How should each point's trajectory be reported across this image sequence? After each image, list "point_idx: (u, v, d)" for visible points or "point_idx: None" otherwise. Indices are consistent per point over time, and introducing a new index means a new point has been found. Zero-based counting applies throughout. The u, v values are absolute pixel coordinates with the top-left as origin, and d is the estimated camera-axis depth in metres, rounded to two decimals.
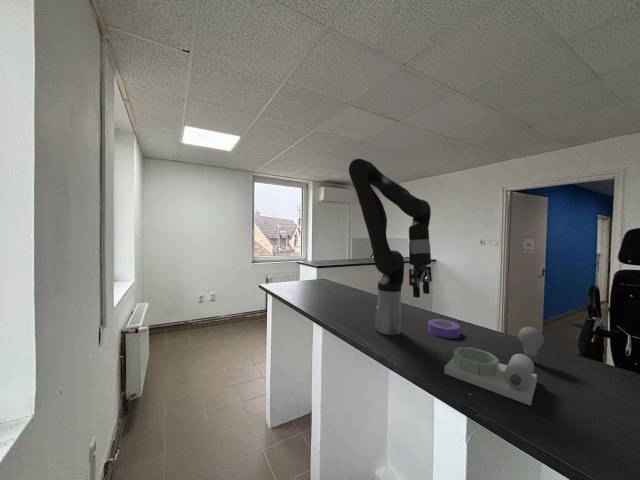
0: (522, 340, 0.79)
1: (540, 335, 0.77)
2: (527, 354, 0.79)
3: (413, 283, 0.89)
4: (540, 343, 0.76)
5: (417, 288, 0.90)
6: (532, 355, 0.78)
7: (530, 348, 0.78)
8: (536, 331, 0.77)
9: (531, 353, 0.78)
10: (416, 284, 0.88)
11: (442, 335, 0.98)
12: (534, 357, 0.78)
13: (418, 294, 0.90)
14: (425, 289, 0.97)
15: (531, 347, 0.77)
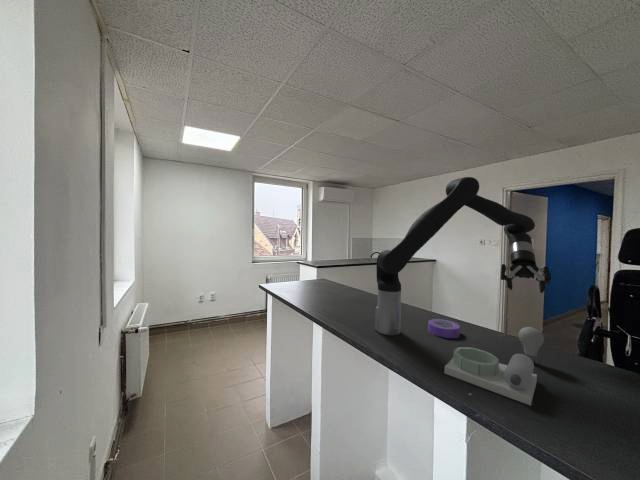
0: (522, 340, 0.79)
1: (540, 335, 0.77)
2: (527, 354, 0.79)
3: None
4: (540, 343, 0.76)
5: None
6: (532, 355, 0.78)
7: (530, 348, 0.78)
8: (536, 331, 0.77)
9: (531, 353, 0.78)
10: None
11: (442, 335, 0.98)
12: (534, 357, 0.78)
13: None
14: (511, 284, 0.92)
15: (531, 347, 0.77)
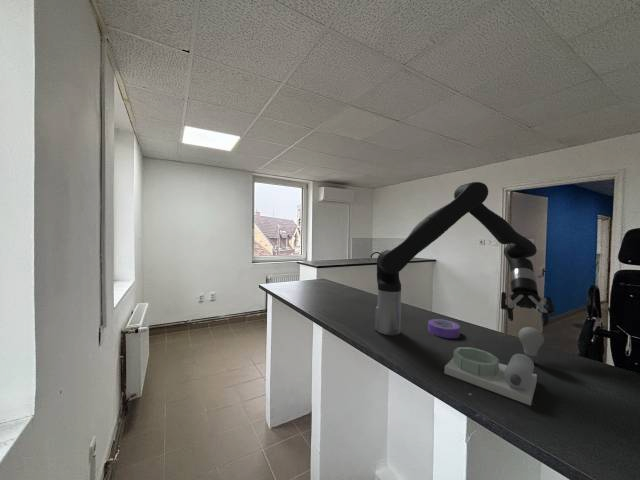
0: (522, 340, 0.79)
1: (540, 335, 0.77)
2: (527, 354, 0.79)
3: None
4: (540, 343, 0.76)
5: None
6: (532, 355, 0.78)
7: (530, 348, 0.78)
8: (536, 331, 0.77)
9: (531, 353, 0.78)
10: None
11: (442, 335, 0.98)
12: (534, 357, 0.78)
13: None
14: (512, 315, 0.87)
15: (531, 347, 0.77)
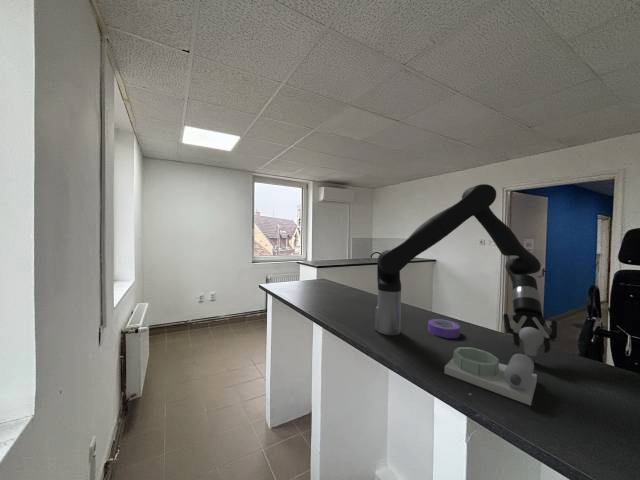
0: (522, 340, 0.79)
1: (540, 335, 0.77)
2: (527, 354, 0.79)
3: None
4: (540, 343, 0.76)
5: None
6: (532, 355, 0.78)
7: (530, 348, 0.78)
8: (536, 331, 0.77)
9: (531, 353, 0.78)
10: None
11: (442, 335, 0.98)
12: (534, 357, 0.78)
13: None
14: (519, 341, 0.80)
15: (531, 347, 0.77)
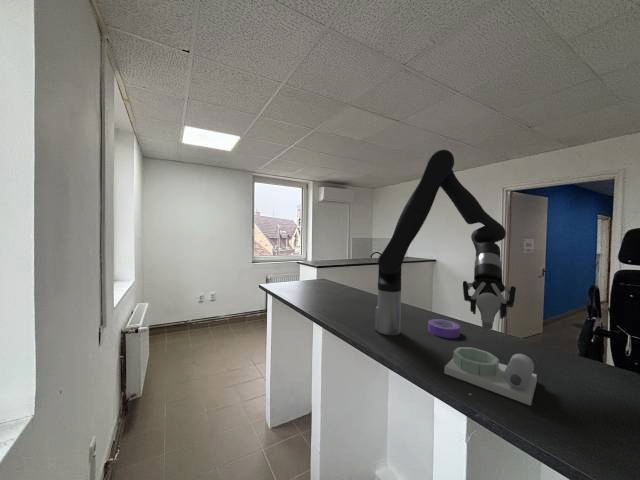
0: (479, 306, 0.74)
1: (497, 300, 0.71)
2: (484, 321, 0.74)
3: None
4: (496, 308, 0.71)
5: None
6: (488, 322, 0.73)
7: (486, 314, 0.73)
8: (493, 296, 0.72)
9: (487, 320, 0.73)
10: None
11: (442, 335, 0.98)
12: (490, 324, 0.73)
13: None
14: (475, 307, 0.75)
15: (487, 313, 0.72)
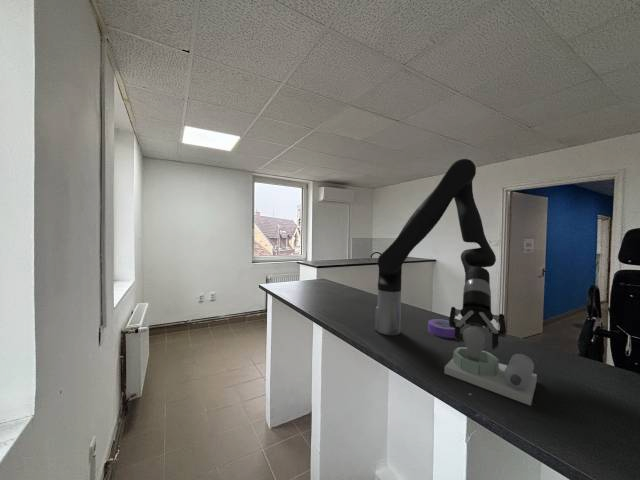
0: (464, 341, 0.73)
1: (482, 336, 0.70)
2: (470, 356, 0.72)
3: None
4: (482, 344, 0.70)
5: None
6: (474, 357, 0.72)
7: (472, 350, 0.71)
8: (478, 331, 0.71)
9: (473, 355, 0.71)
10: None
11: (442, 335, 0.98)
12: (477, 359, 0.72)
13: None
14: None
15: (473, 349, 0.71)
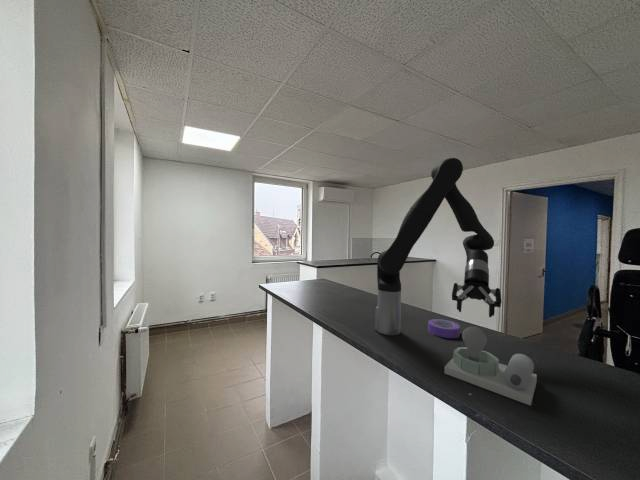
0: (464, 341, 0.73)
1: (482, 335, 0.70)
2: (470, 356, 0.72)
3: None
4: (482, 344, 0.70)
5: None
6: (474, 357, 0.72)
7: (472, 350, 0.71)
8: (478, 331, 0.71)
9: (473, 355, 0.72)
10: None
11: (442, 335, 0.98)
12: (477, 359, 0.72)
13: None
14: (461, 306, 0.86)
15: (473, 349, 0.71)
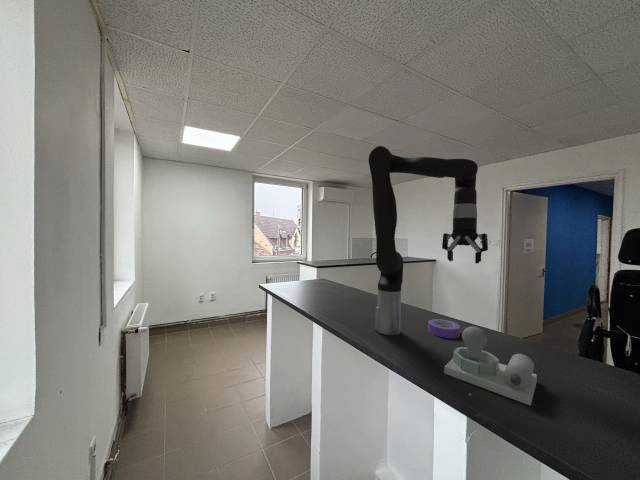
0: (464, 341, 0.73)
1: (482, 335, 0.70)
2: (470, 356, 0.72)
3: None
4: (482, 344, 0.70)
5: None
6: (474, 357, 0.72)
7: (472, 350, 0.71)
8: (478, 331, 0.71)
9: (473, 355, 0.72)
10: None
11: (442, 335, 0.98)
12: (477, 359, 0.72)
13: None
14: (451, 256, 0.94)
15: (473, 349, 0.71)
